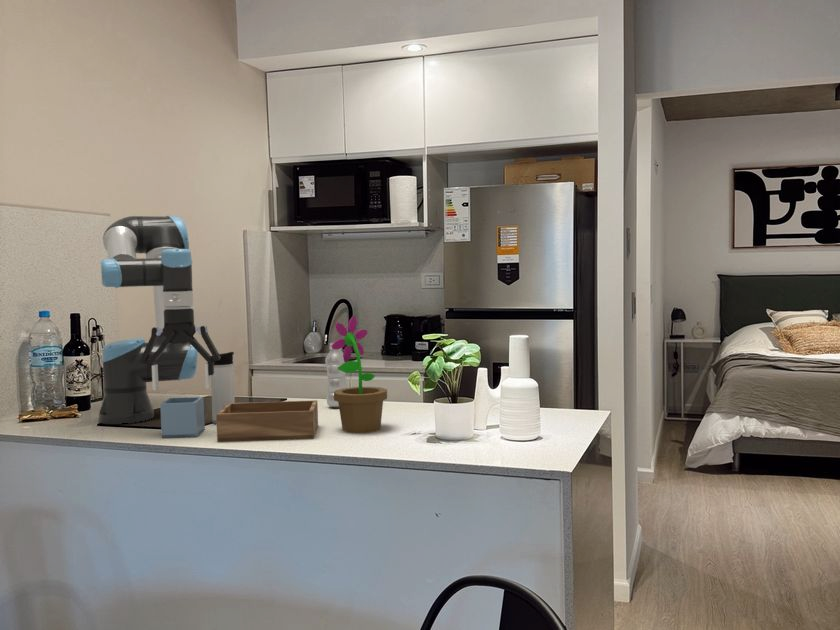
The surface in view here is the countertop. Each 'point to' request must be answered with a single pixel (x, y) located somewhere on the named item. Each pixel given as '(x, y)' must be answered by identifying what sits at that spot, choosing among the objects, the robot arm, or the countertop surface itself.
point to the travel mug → (222, 383)
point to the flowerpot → (357, 402)
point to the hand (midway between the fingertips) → (182, 388)
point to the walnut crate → (267, 421)
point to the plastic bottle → (334, 374)
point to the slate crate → (182, 417)
